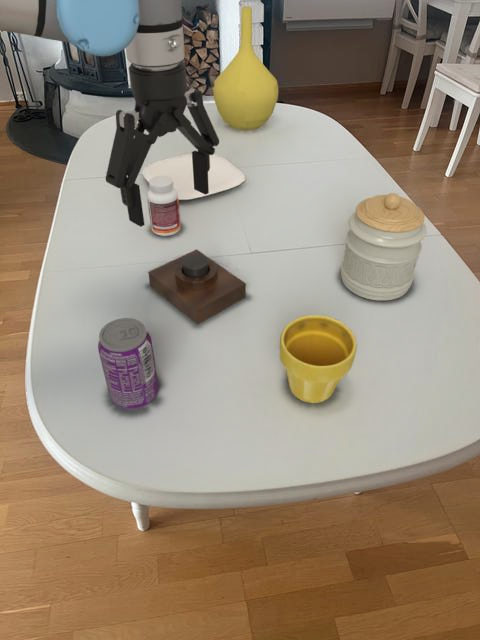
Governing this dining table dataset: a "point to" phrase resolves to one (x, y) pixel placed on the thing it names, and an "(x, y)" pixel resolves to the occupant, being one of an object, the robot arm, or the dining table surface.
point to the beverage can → (128, 363)
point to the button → (195, 266)
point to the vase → (245, 85)
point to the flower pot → (316, 355)
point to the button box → (197, 288)
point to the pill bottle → (163, 206)
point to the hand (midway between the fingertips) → (170, 206)
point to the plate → (182, 174)
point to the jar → (383, 247)
